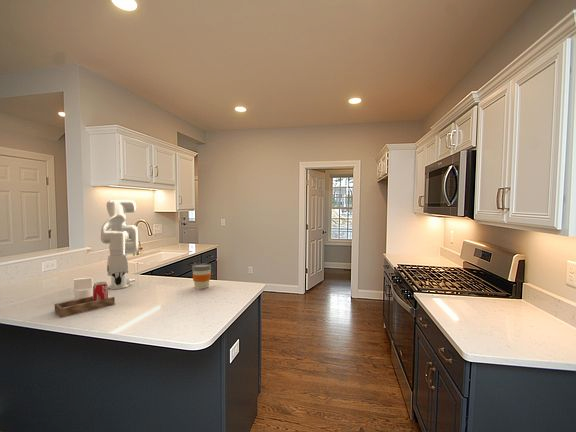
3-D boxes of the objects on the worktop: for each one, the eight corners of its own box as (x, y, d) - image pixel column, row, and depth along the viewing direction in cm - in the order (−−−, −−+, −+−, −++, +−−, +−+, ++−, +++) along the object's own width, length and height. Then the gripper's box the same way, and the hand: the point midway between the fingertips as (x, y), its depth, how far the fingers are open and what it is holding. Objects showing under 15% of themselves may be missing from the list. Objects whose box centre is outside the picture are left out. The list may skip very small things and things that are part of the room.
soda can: (100, 307, 152) (100, 285, 151) (89, 306, 153) (89, 284, 153) (111, 302, 158) (110, 281, 158) (100, 301, 160) (100, 281, 160)
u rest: (107, 299, 163) (107, 293, 163) (114, 304, 156) (114, 297, 156) (54, 311, 145) (54, 303, 145) (60, 317, 137) (60, 309, 137)
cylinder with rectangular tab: (72, 301, 160) (72, 281, 160) (76, 297, 168) (75, 277, 168) (91, 299, 164) (91, 279, 164) (94, 295, 172) (93, 276, 172)
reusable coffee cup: (188, 288, 187) (187, 266, 186) (200, 283, 198) (200, 262, 198) (203, 290, 182) (203, 267, 182) (215, 285, 194) (214, 264, 193)
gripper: (129, 251, 170) (129, 280, 170) (100, 253, 158) (101, 285, 159) (134, 252, 165) (134, 282, 165) (105, 255, 154) (105, 288, 154)
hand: (118, 284), depth 162 cm, fingers closed
